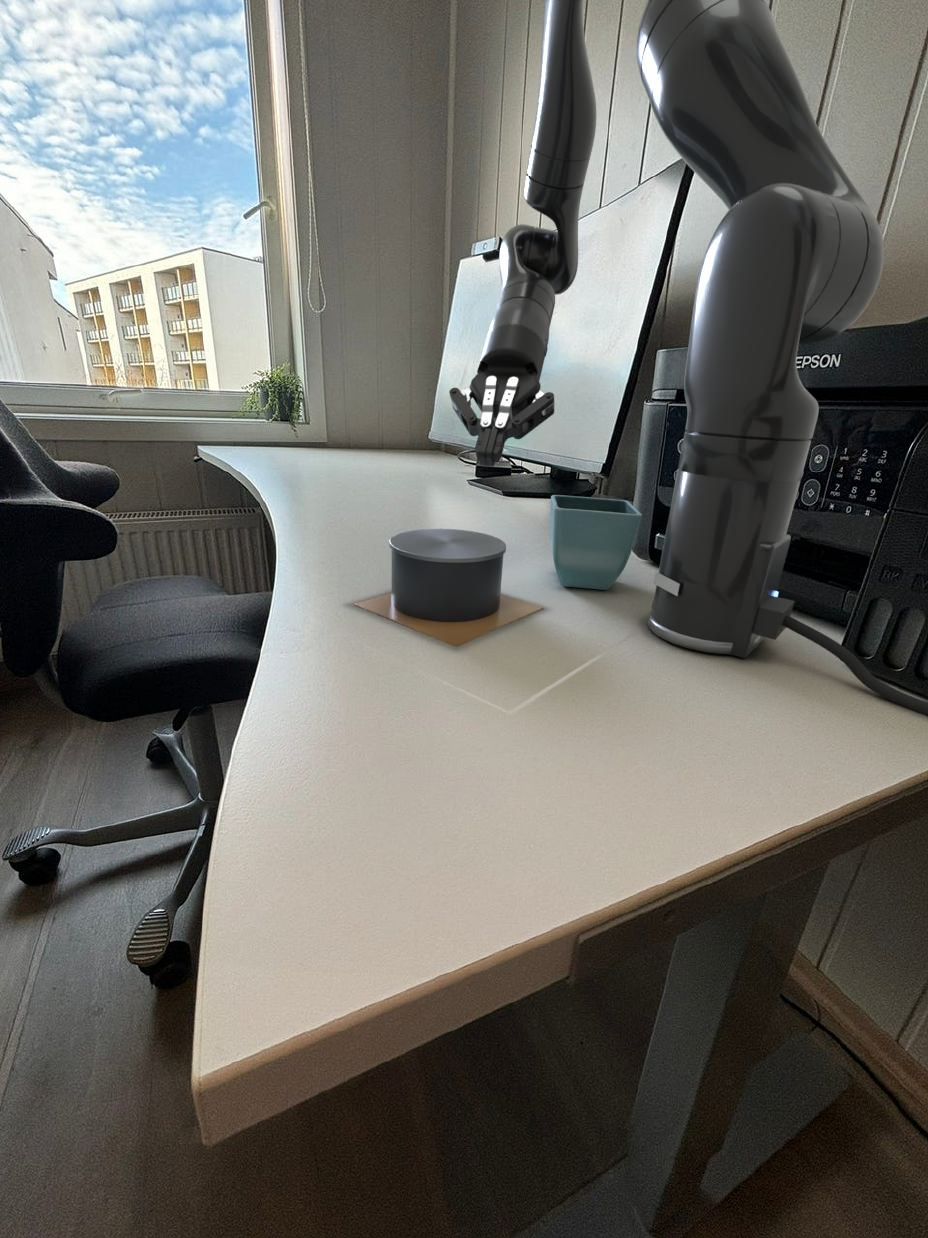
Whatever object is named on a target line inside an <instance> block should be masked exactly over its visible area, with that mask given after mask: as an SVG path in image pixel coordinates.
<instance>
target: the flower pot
mask: <svg viewBox="0 0 928 1238" xmlns="http://www.w3.org/2000/svg"><path fill="white" fill-rule="evenodd" d="M642 517H643V514H642V512H640V511H639V510H638V509H637V507H635V506H634V505H633V504H632V503H631V502H630V501H628V500H625V499H615V498H614V499H613V498H603V497H602V498H600V497H589V496H577V495H576V496H574V495H562V494H552V495H551V496H550V520H549V521H550V525H549V528H550V529H549V536H550V547H551V553H552V558H553V564H554V565H553V566H554V569H555V572H556V576H557V578H558V581H559V584H560V585H561V586H562V587H566V588H578V589H579V588H581V589H591V590H600V591H606V590H609V589H610V588H611V587H612V585H614V584H615V582H616V581H617V580H618V578H619V577H620V576H621V575H622V573H623V571H624V570H625V568H626V566H627V563H628V562H629V559H630V557H631V554H632V551H633V547H634V545H635V540H636V538H637V535H638V531H639V528H640V524H641V520H642Z"/></svg>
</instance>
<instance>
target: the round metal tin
mask: <svg viewBox="0 0 928 1238" xmlns="http://www.w3.org/2000/svg"><path fill="white" fill-rule="evenodd" d="M388 543H389V545H388V546H389V548H390V549H391V593H392V605H393V606H394V607H395V608H396V609H397V610H398V611H400V612H402V613H404V614H406V615H409V616H411V617H415V618H419V619H423V620H429V621H438V622H464V621H472V620H477V619H481V618H485V617H487V616H490V615H492V614H493V613H495V612H496V611H497V610H498V608H499V606H500V594H502V592H501V590H502V579H503V567H504V554H505V553H506V551H507V544H506V543H505V541H503V540H502V539H500V538H498V537H495V536H493V535H490V534H486V533H483V532H477V531H472V530H464V529H453V528H424V529H413V530H408V531H403V532H399V533H396V534H395V535H393V536H391V538H390V539H389V542H388Z"/></svg>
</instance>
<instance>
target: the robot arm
mask: <svg viewBox="0 0 928 1238" xmlns="http://www.w3.org/2000/svg"><path fill="white" fill-rule="evenodd" d="M542 22H543V23H542V24H543V25H542V40H541V41H542V43H541V57H540V61H541V62H540V76H539V86H538V97H537V105H536V113H535V120H534V126H533V133H532V139H531V143H530V150H529V156H528V162H527V169H526V175H525V180H524V181H525V182H524V186H523V189H524V190H523V196H524V197H523V198H524V201H525V202H526V204H527V205H528V206H529V207H530V208H531V209H533V210H534V211H536V212H538V213H540V214H542V215H543V216H545V217H547V218H548V219H550V220H551V221H552V222H553V223H554V225H555V228H556V230H553V229H548V228H544V227H539V226H534V225H529V224H516V225H515V226H513V227H511V228H510V229H509V230H508V231H507V232H506V233H505V235H504V237H503V239H502V241H501V243H500V247H499V254H498V255H499V257H498V258H499V259H498V265H499V267H498V268H499V277H500V283H501V292H500V296H499V301H498V304H497V308H496V312H495V314H494V316H493V318H492V320H491V323H490V325H489V328H488V331H487V334H486V339H485V341H484V344H483V345H484V346H483V349H482V351H481V355H480V359H479V362H478V366H477V371H476V374H475V376H473V377H472V379H470V381H469V385H468V387H465V388H463V389H461V390H460V389H459V388H458V387H452V388H450V389H449V392H448V393H449V397H450V402H451V405H452V409H453V411H454V412H455V414H456V415H457V417H458V419H459V420H460V422H461V423H462V425H463V427H464V428H465V429H466V431H467V432H468V434H469V435H470V436H471V437H477V440H476V442H475V447H474V451H475V452H474V453H475V457H476V461H478V462H479V464H480V465H479V466H482V467H494V466H495V464H496V463H499V462H500V461H501V459H502V456H503V451H504V449H505V445H506V442H507V441H508V440H509V439H511V438H514V439H515V440H521V439H523V438H524V437H526V435H528V434H529V433H531V432H532V431H533V430H535V429H536V428H537V427H539V426H540V425H542V424H543V423H544V422H545V421H547V420H548V419H550V417H552V416H553V415H554V414H555V405H556V403H555V393H553V392H551V391H547V392H543V391H542V390H541V387H542V386H541V385H542V384H541V382H540V381H541V376H542V371H543V367H544V363H545V359H546V357H547V353H548V345H549V339H550V329H551V328H550V327H551V325H552V324H551V323H552V320H553V315H554V310H555V305H556V296H558V295H561V294H563V293H565V292H567V290H568V289H569V288H570V287H571V286H572V285H573V283H574V281H575V278H576V276H577V273H578V267H579V218H580V216H579V215H580V206H581V199H582V195H583V189H584V185H585V182H586V175H587V172H588V169H589V164H590V160H591V156H592V151H593V147H594V142H595V138H596V132H597V131H596V130H597V101H596V93H595V88H594V87H595V86H594V82H593V77H592V72H591V67H590V61H589V57H588V51H587V44H586V37H585V36H586V35H585V26H584V0H544V6H543V21H542ZM638 25H639V26H638V31H637V36H636V37H637V38H636V61H637V67H638V73H639V77H640V80H641V82H642V85H643V88H644V91H645V93H646V96H647V99H648V101H649V104H650V106H651V109H652V112H653V115H654V117H655V119H656V121H657V124H658V125H659V127H660V130H661V131H662V133H663V135H664V137H665V138H666V140H667V141H668V142H669V144H670V145H671V147H672V149H674V150H675V151H676V153H677V154H678V155H679V157H680V158H681V159H682V160H683V162H685V163H686V165H687V166H688V167H689V168H690V169H691V170H692V171H693V172H694V173H695V174H696V175H697V176H698V177H699V178H700V179H701V180H702V181H703V182H704V183H705V184H706V185H707V187H708V188H709V189H711V191H712V192H714V194H715V195H716V196H717V197H718V198H719V199H720V200H721V202H722V203H723V204H724V205H725V207H726V208H727V209H728V211H727V212H726V213H725V214H724V216H723V217H722V218H721V220H720V222H719V224H718V225H717V227H716V229H715V230H714V232H713V234H712V236H711V239H710V240H709V242H708V244H707V247H706V250H705V253H704V256H703V259H702V262H701V266H700V269H699V274H698V278H697V283H696V287H695V294H694V301H693V308H692V316H691V324H690V331H689V339H688V347H687V355H686V362H685V369H684V378H683V379H684V381H683V391H684V399H685V403H686V408H687V409H686V410H687V416H686V423H685V431H684V435H683V439H682V445H681V450H680V454H679V460H678V466H677V471H676V476H675V481H674V486H673V493H672V498H671V503H670V507H669V513H668V519H667V525H666V530H665V535H664V540H663V546H662V551H661V557H660V562H659V568H658V572H657V571H655V573H654V578H653V585H655V590H654V594H653V595H654V596H653V600H652V604H651V609H650V611H649V615H648V621H647V625H648V628H649V630H651V632H652V633H654V634H655V635H656V636H657V637H659V638H661V639H663V640H664V641H667V642H668V643H671V644H674V645H676V646H679V647H682V648H686V649H690V650H694V651H698V652H704V653H711V654H722V655H730V656H735V657H738V658H741V659H745V658H748V656H749V655H750V654H751V653H752V652H753V651H754V650H755V649H757V648H758V647H759V644H760V643H761V642H762V641H763V640H765V638H767V639H771V640H774V641H775V640H776V639H777V638H778V637H779V636H780V635H781V634H782V633H783V632H784V631H785V629H788V630H790V631H792V632H794V633H796V634H798V635H800V636H802V637H804V638H805V639H806V640H808V641H811V642H813V643H814V644H816V645H818V646H820V647H821V648H823V649H825V650H826V651H828V652H829V653H831V654H832V655H834V657H836V658H838V659H839V660H840V661H841V662H843V664H844V665H845V666H846V667H847V668H848V669H849V671H850V672H851V673H852V674H853V675H854V676H855V677H856V678H857V680H859V682H860V683H861V684H862V685H864V686H865V687H866V688H868V689H869V690H870V691H872V692H874V693H876V694H877V695H879V696H881V697H882V698H885V699H886V700H888V701H890V702H893V703H894V704H896V705H900V706H902V707H904V708H906V709H909V710H911V711H914V712H917V713H919V714H923V715H926V716H928V701H926V700H923V699H920V698H917V697H915V696H912V695H910V694H907V693H905V692H903V691H900V690H898V689H896V688H894V687H892V686H891V685H889V684H887V683H885V682H883V681H881V680H880V679H879V678H877V677H875V676H874V675H873V674H872V673H871V672H870V671H869V670H868V669H867V668H866V667H865V665H864V664H863V663H862V662H861V661H860V660H859V658H858V657H856V656H855V654H853V653H852V652H851V651H850V650H849V649H848V648H846V647H845V646H843V645H842V644H840V643H839V642H837V641H836V640H834V639H832V638H831V637H829V636H828V635H826V634H824V633H822V632H821V631H819V630H817V629H815V628H813V627H811V626H809V625H807V624H805V623H804V622H802V621H799V620H798V619H796V618H795V617H793V616H791V615H792V612H793V608H794V606H795V605H794V604H795V600H792V599H788V598H783V597H779V591H778V589H779V584H780V582H781V581H780V580H781V577H782V573H783V570H784V566H785V562H786V559H787V555H788V551H789V548H790V544H791V540H792V536H791V534H788V529H789V525H790V521H791V518H792V514H793V510H794V507H795V503H796V499H797V497H798V492H799V488H800V484H801V480H802V477H803V473H804V469H805V466H806V462H807V459H808V454H809V451H810V446H811V443H812V441H811V440H812V439H813V436H814V433H815V430H816V425H817V421H818V417H819V411H820V408H819V402H818V401H817V399H816V398H815V397H814V395H812V394H811V393H810V392H809V390H808V389H806V388H805V386H804V385H803V383H802V381H801V379H800V376H799V371H798V368H797V357H798V351H799V345H803V344H812V343H818V342H822V341H826V340H828V339H831V338H833V337H835V336H837V335H839V334H842V333H843V332H845V331H846V330H847V329H848V328H849V327H851V326H852V325H853V324H854V323H855V322H856V321H857V320H858V319H859V318H860V317H861V315H863V313H864V312H865V310H866V309H867V308H868V306H869V305H870V302H871V301H872V298H874V296H875V294H876V291H877V288H878V285H879V283H880V279H881V276H882V272H883V266H884V260H885V259H884V258H885V256H884V255H885V247H884V238H883V233H882V229H881V227H880V224H879V222H878V219H877V218H876V216H875V214H874V212H873V210H871V208H870V206H869V205H868V203H867V202H866V201H865V199H864V198H863V196H862V195H861V193H860V192H859V189H857V187H856V186H855V184H854V183H853V182H852V180H851V179H850V177H849V176H848V173H846V171H845V170H844V168H843V167H842V165H841V164H840V162H839V160H838V159H837V158H836V156H835V155H834V153H833V152H832V150H831V148H830V147H829V145H828V143H827V142H826V140H825V138H824V136H823V135H822V133H821V131H820V129H819V127H818V124H817V122H816V119H815V117H814V115H813V113H812V110H811V108H810V107H811V106H809V102H808V99H807V97H806V94H805V91H804V89H803V87H802V83H801V82H800V79H799V77H798V75H797V73H796V70H795V67H794V66H793V63H792V61H791V59H790V57H789V54H788V52H787V49H786V47H785V45H784V43H783V40H782V38H781V35H780V33H779V30H778V28H777V25H776V21H775V19H774V17H773V14H772V12H771V10H770V7H769V5H768V2H767V0H646V2H645V4H644V8H643V11H642V13H641V17H640V20H639V24H638ZM472 399H473V401H474V402H475V404H476V406H477V407H478V409H479V411H480V412H481V418H479V417H478V416H477V414H476V412H475V411H474V410H473V408H472V407H471V406H472V401H471V400H472Z"/></svg>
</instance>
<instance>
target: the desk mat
mask: <svg viewBox="0 0 928 1238" xmlns="http://www.w3.org/2000/svg"><path fill="white" fill-rule="evenodd" d="M353 606H356V607H358V608H359V609H362V610H365V611H368V612H369V613H372V614H375V615H377V616H379V617H382V618H385V619H387V620H389V621H391V622H395V623H397V624H399V625H402V626H404V627H407V628H409V629H411V630H414V631H416V632H418V633H422V634H424V635H426V636H429V637H431V638H433V639H436V640H438V641H441V642H443V643H446V644H448V645H451V646H452V647H455V648H456V647H459V646H461V645H465V644H466V643H468V642H471V641H473V640H475V639H477V638H480V637H483V636H484V635H486V634H487V635H488V634H489V633H491V632H494V631H496V630H497V629H500V628H502V627H505V626H507V625H510V624H511V623H513V622H516V621H518V620H520V619H523V618H525V617H527V616H530V615H532V614H535V613H537V612H540V611H541V610H543V609H544V607H543V606H541V605H537V604H534V603H530V602H527V601H524V600H522V599H517V598H514V597H511V596H508V595H505V594H502V593H500V606H499V608H498V610H497V611H496V612H495V613H493V614H492V615H490V616H487V617H485V618H481V619H477V620H472V621H464V622H438V621H429V620H423V619H419V618H415V617H411V616H409V615H406V614H404V613H402V612H400V611H398V610H397V609H396V608H395V607H394V606H393V605H392V592H389V593H387V594H383V595H380V596H376V597H372V598H369V599H366V600H362V601H360V602H356V603H353Z"/></svg>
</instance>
